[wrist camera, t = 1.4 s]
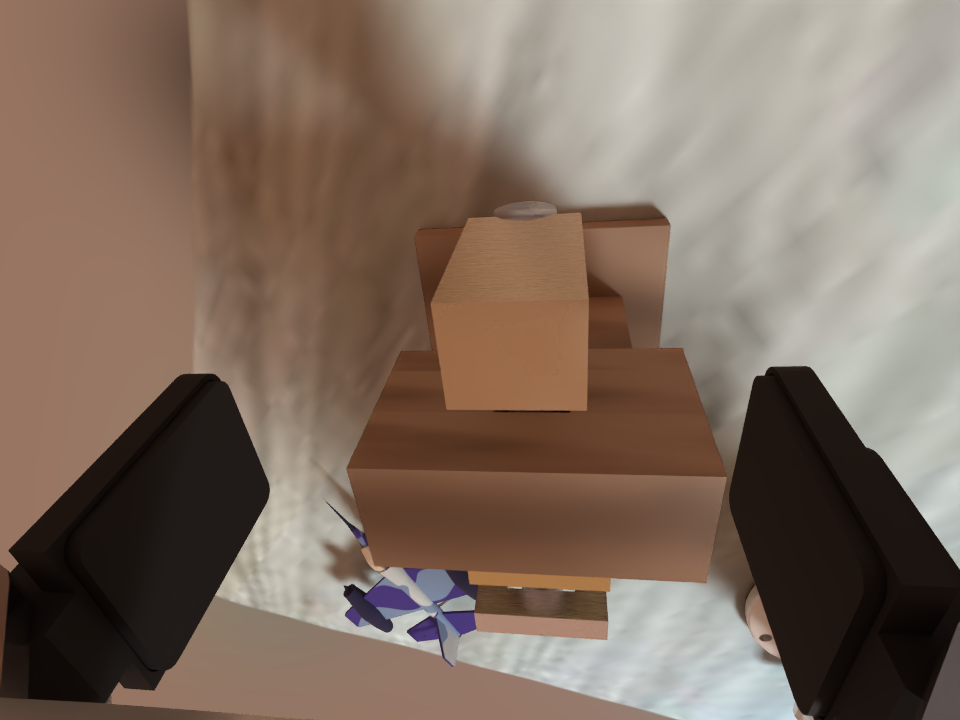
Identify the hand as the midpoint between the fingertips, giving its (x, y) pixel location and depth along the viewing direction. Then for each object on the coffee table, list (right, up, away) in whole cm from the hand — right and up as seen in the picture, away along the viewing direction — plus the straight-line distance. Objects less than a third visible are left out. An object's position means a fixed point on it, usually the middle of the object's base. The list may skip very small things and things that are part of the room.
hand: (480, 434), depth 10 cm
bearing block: (+3, +4, +19) cm, 20 cm away
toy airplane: (-5, -13, +32) cm, 35 cm away
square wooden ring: (+4, -8, +20) cm, 22 cm away
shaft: (+3, -2, +14) cm, 14 cm away
